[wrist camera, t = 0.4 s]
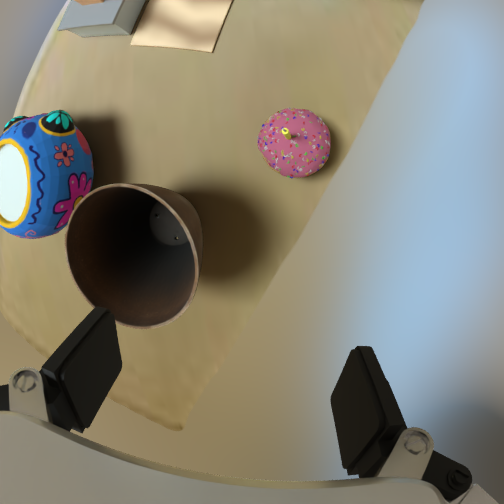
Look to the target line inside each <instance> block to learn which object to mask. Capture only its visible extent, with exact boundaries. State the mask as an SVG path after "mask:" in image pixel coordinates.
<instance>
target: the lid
mask: <svg viewBox="0 0 504 504" xmlns="http://www.w3.org/2000/svg"><path fill="white" fill-rule="evenodd" d="M124 2H125V0H71V1H70V3H69V5H68V7H67V9H66V11H65V14H64V16H63V18H62V20H61V22H60V25H59V27H58V29H57V30H58V31H62V30H68V29H75V28H83V27H92V26H103V25H114V24H115V21H116V19H117V17H118V15H119V12H120V10H121V8H122V6H123V4H124Z"/></svg>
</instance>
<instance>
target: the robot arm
mask: <svg viewBox="0 0 504 504" xmlns="http://www.w3.org/2000/svg"><path fill="white" fill-rule="evenodd" d="M121 369H122V360H121V354H120V349H119V343H118V337H117V330H116V324H115V317H114V314H112V313H111V311H110V310H109V309H106V308H102V307H98V306H97V307H95V308H94V309H93V310H92V311H91V312H90V313H89V314H88V315H87V316H86V317H85V319H84V320H83V321H82V322H81V323H80V324H79V325H78V326H77V327H76V328H75V329H74V331H73V332H72V333H71V334H70V335H69V336H68V337H67V338H66V339H65V341H64V342H63V343H62V344H61V345H60V346H59V347H58V348H57V350H56V351H55V352H54V353H53V354H52V355H51V357H50V358H49V359H48V360H47V361H46V362H45V364H44V365H43V366H42V369H41V370H40V371H39V372H38V371H37V370H36V369H34V368H30V367H24V368H20V369H18V370H16V371H15V372H14V373H13V374H12V375H11V377H10V379H9V384H7V385H2V386H0V504H498V503H497V502H496V501H495V500H494V499H493V498H492V497H491V496H490V495H488V494H487V493H486V492H485V491H484V490H483V489H482V488H481V487H480V486H479V485H477V484H474V485H472V475H471V473H470V471H469V470H468V468H466V467H465V466H463V465H462V464H459V463H457V462H455V461H453V460H451V459H449V458H447V457H446V456H444V455H442V454H440V453H438V452H436V451H434V450H433V448H434V443H433V439H432V437H431V436H430V434H429V433H428V432H426V431H425V430H423V429H420V428H416V427H412V428H408V429H407V426H406V424H405V421H404V419H403V417H402V414H401V411H400V409H399V407H398V404H397V402H396V399H395V397H394V394H393V392H392V389H391V387H390V385H389V382H388V381H387V380H386V378H385V376H384V373H383V371H382V369H381V367H380V364H379V362H378V360H377V358H376V355H375V353H374V351H373V349H372V347H370V346H357V347H356V348H355V349H353V350H351V352H350V354H349V356H348V359H347V361H346V364H345V366H344V368H343V371H342V373H341V375H340V377H339V380H338V382H337V384H336V386H335V388H334V391H333V393H332V395H331V407H332V412H333V416H334V422H335V427H336V432H337V437H338V443H339V448H340V454H341V460H342V466H343V468H344V469H347V473H348V475H356V474H359V478H357V479H346V480H329V481H271V480H256V479H245V478H235V477H227V476H220V475H213V474H207V473H201V472H196V471H191V470H186V469H181V468H176V467H172V466H168V465H163V464H160V463H156V462H152V461H149V460H145V459H142V458H138V457H135V456H132V455H129V454H126V453H122V452H120V451H117V450H114V449H111V448H109V447H106V446H103V445H101V444H98V443H95V442H93V441H90V440H88V439H85V438H83V437H80V436H78V435H76V434H73V433H71V432H70V430H71V429H74V430H76V431H78V432H80V433H83V431H84V429H85V428H88V427H89V426H90V425H91V423H92V421H93V419H94V417H95V416H96V414H97V412H98V410H99V408H100V406H101V405H102V403H103V401H104V399H105V397H106V396H107V394H108V392H109V390H110V389H111V387H112V385H113V383H114V382H115V380H116V378H117V377H118V375H119V373H120V371H121Z"/></svg>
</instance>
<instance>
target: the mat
mask: <svg viewBox="0 0 504 504" xmlns="http://www.w3.org/2000/svg"><path fill="white" fill-rule="evenodd" d="M232 1H233V0H150V1H149V3H148V5H147V7H146V9H145V11H144V13H143V16H142V18H141V20H140V22H139V25H138V27H137V29H136V32H135V34H134V37H133V39H132V42H131V44H130V45H131V46H150V47H165V48H177V49H186V50H195V51H202V52H209V53H212V52H213V49H214V46H215V43H216V41H217V38H218V35H219V33H220V30H221V28H222V25H223V23H224V20H225V18H226V15H227V13H228V10H229V8H230V6H231V3H232Z"/></svg>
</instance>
